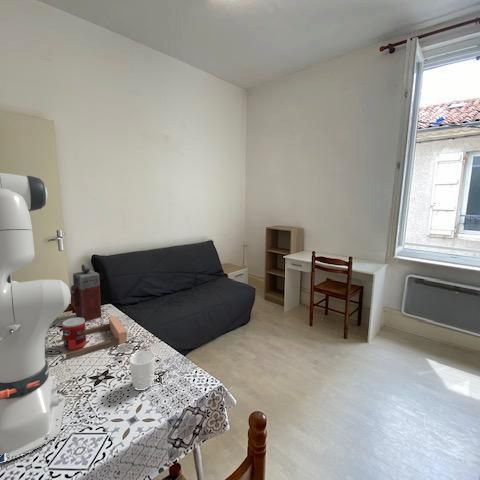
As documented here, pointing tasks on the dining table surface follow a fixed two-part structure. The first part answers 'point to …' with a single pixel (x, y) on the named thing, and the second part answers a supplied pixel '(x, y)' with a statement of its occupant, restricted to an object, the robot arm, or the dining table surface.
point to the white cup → (142, 369)
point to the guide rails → (93, 347)
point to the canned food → (74, 333)
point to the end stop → (118, 329)
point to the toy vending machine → (86, 294)
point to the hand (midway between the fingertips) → (46, 341)
